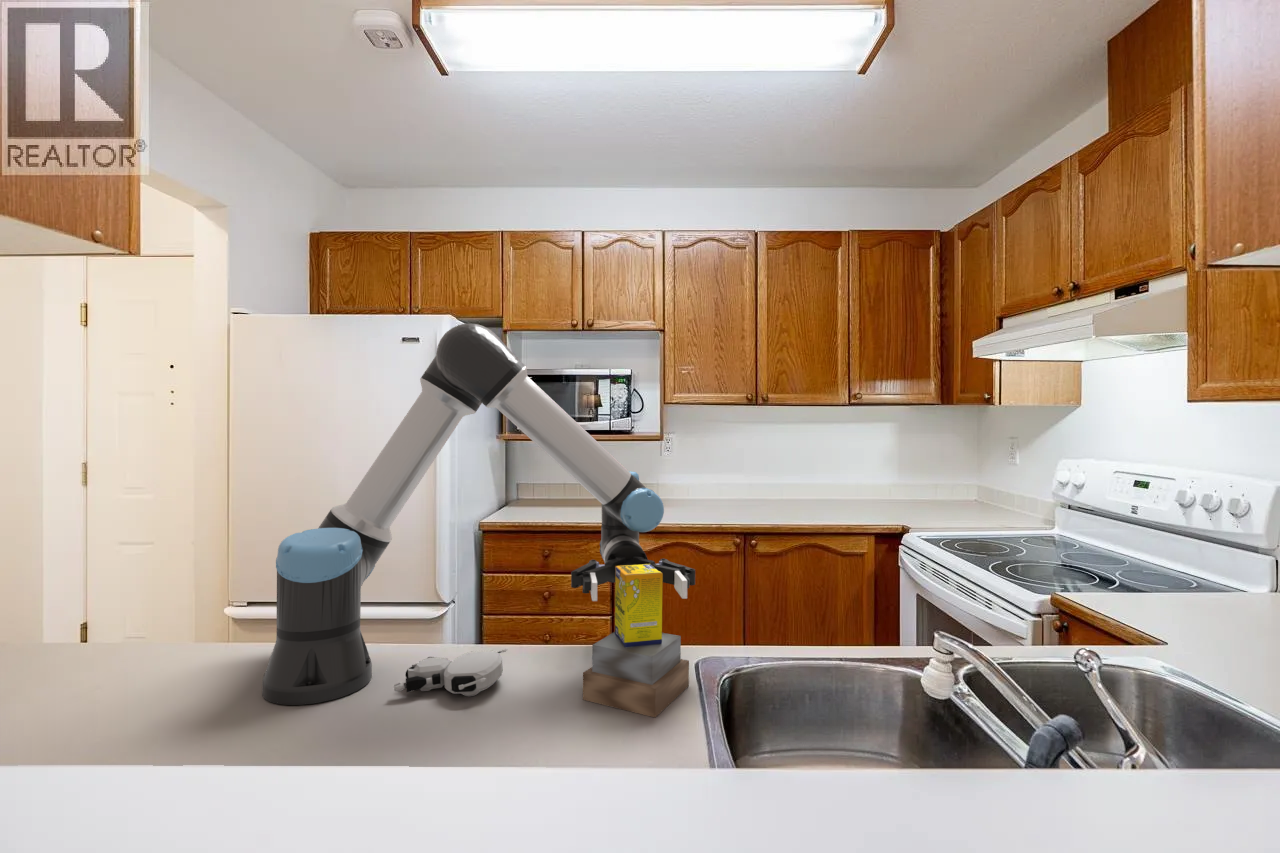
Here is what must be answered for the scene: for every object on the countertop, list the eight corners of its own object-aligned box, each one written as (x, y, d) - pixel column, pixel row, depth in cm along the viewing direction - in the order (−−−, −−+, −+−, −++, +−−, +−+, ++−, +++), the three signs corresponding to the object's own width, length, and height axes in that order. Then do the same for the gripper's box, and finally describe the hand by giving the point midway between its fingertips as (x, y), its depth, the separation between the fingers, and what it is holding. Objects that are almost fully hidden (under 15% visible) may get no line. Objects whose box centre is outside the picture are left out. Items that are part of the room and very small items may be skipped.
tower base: (582, 699, 92) (583, 645, 92) (621, 671, 103) (622, 623, 103) (655, 717, 86) (655, 660, 86) (688, 686, 97) (689, 635, 97)
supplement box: (613, 635, 97) (614, 565, 97) (650, 632, 98) (650, 563, 98) (624, 648, 91) (624, 574, 91) (662, 644, 93) (663, 571, 93)
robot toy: (389, 710, 90) (490, 705, 90) (387, 679, 90) (488, 674, 90) (422, 676, 103) (511, 672, 102) (420, 649, 103) (510, 644, 102)
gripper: (691, 579, 115) (721, 613, 94) (556, 582, 112) (555, 618, 91) (692, 539, 115) (721, 564, 94) (556, 541, 112) (556, 567, 91)
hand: (640, 590), depth 93 cm, fingers open, 13 cm apart
